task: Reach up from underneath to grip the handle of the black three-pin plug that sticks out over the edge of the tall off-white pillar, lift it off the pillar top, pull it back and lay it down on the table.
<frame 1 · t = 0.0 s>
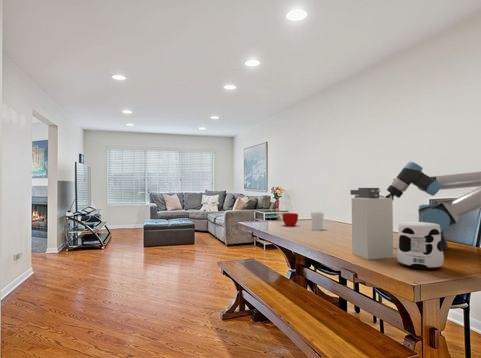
hand: (372, 219, 170), 15 cm above the table, tool tilted 35°, fingers open, 13 cm apart
foam cup: (317, 230, 236), on the table
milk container: (419, 266, 131), on the table
plug: (363, 197, 158), point 28 cm above the table, touching pillar
ceramic cup: (291, 225, 260), on the table
pillar: (372, 255, 151), on the table
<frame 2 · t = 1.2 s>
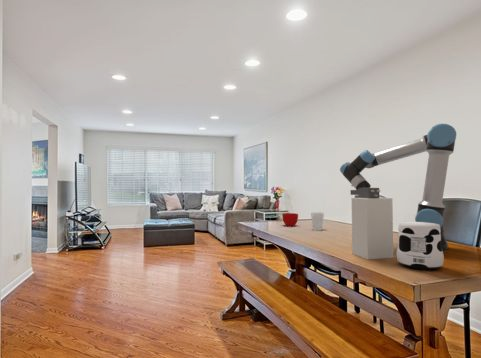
hand: (387, 213, 163), 19 cm above the table, tool tilted 45°, fingers open, 13 cm apart
nothing on the table moved.
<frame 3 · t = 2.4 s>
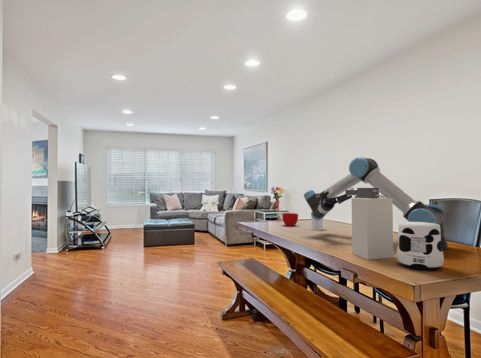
hand: (342, 189, 176), 32 cm above the table, tool pointing upward, fingers open, 13 cm apart
plug: (361, 197, 158), point 28 cm above the table, touching pillar
everything else where it was.
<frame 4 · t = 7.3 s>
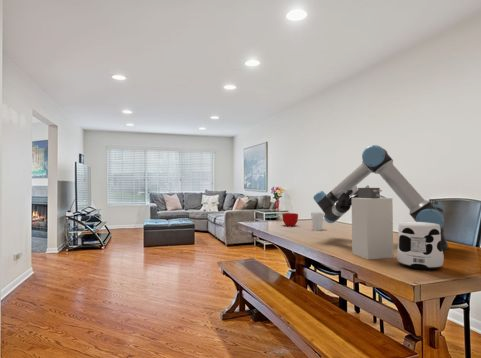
hand: (362, 187, 158), 33 cm above the table, tool pointing upward
plug: (362, 197, 158), point 28 cm above the table, touching gripper
everything else where it was.
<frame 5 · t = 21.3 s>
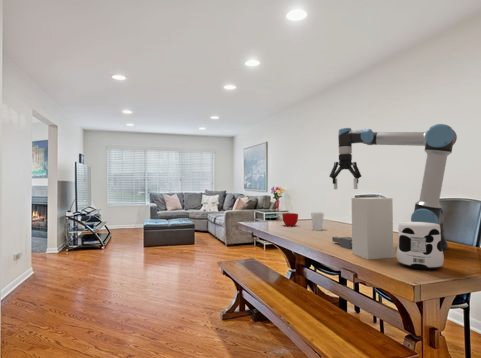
hand: (345, 189, 187), 32 cm above the table, tool pointing down, fingers open, 13 cm apart
plug: (344, 246, 176), on the table
everything else where it was.
at the end: plug inside the target area (1.7 cm from its centre), on the table; the gripper is holding nothing; plug touching table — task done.
